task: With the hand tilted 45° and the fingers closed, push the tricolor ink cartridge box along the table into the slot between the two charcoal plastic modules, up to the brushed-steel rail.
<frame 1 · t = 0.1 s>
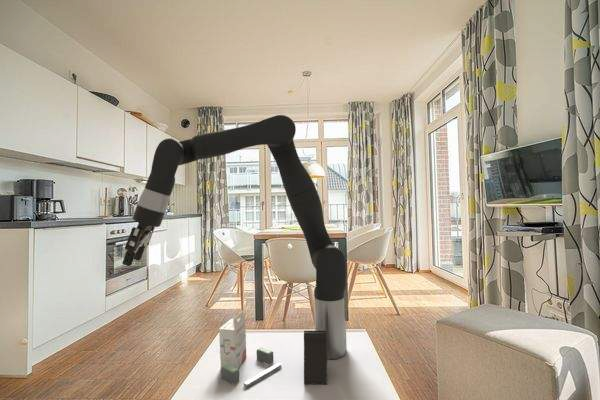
hand: (131, 262, 94), 31 cm above the table, tool tilted 20°, fingers open, 8 cm apart
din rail: (263, 374, 91), on the table
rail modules: (248, 369, 95), on the table
phone stand: (316, 376, 91), on the table
ink cartridge box: (233, 364, 99), on the table
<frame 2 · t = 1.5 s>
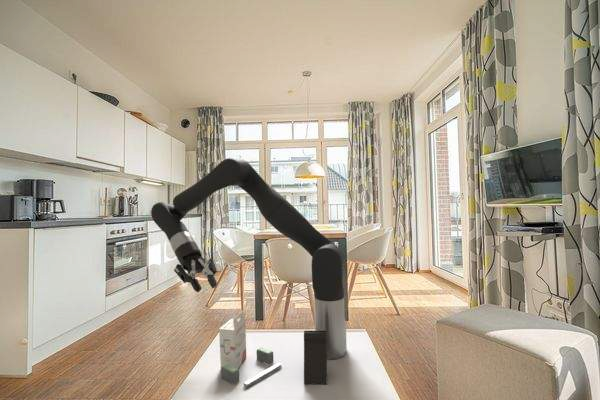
hand: (207, 288, 107), 20 cm above the table, tool tilted 45°, fingers open, 5 cm apart
nothing on the table moved.
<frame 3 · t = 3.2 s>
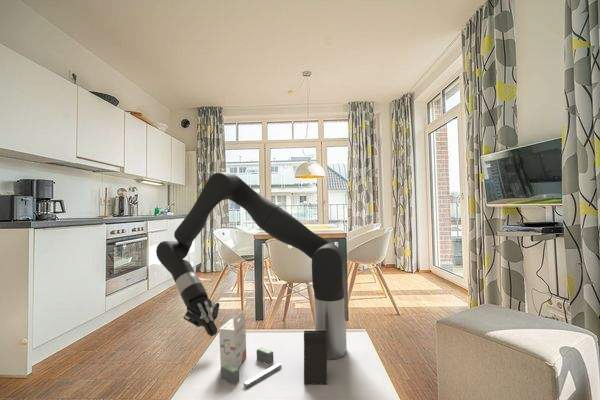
hand: (214, 334, 105), 6 cm above the table, tool tilted 45°, fingers closed
nothing on the table moved.
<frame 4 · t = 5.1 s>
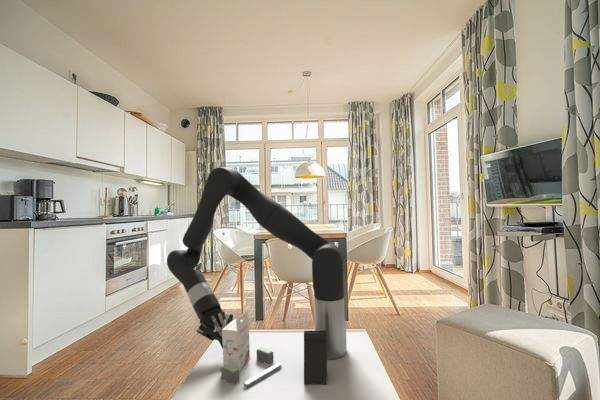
hand: (228, 348, 100), 4 cm above the table, tool tilted 45°, fingers closed
ink cartridge box: (236, 364, 98), on the table, touching gripper
everything else where it was.
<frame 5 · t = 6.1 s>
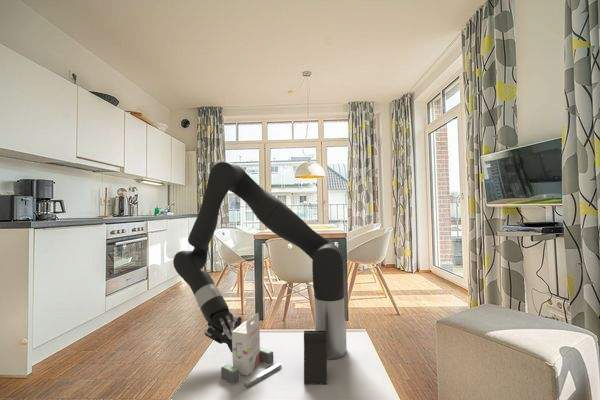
hand: (237, 352, 98), 4 cm above the table, tool tilted 45°, fingers closed
ink cartridge box: (246, 368, 96), on the table, touching gripper
everything else where it was.
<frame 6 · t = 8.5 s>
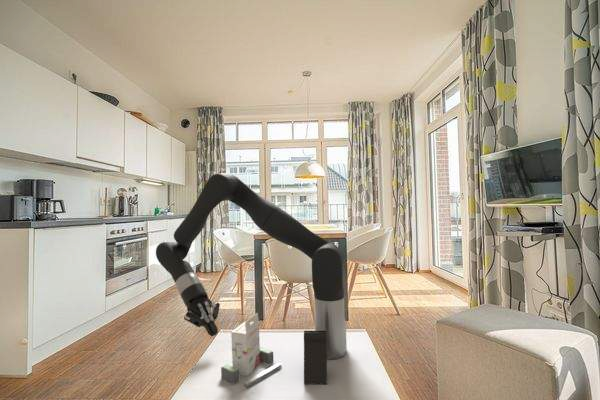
hand: (214, 334, 105), 6 cm above the table, tool tilted 45°, fingers closed
ink cartridge box: (246, 368, 96), on the table
everything else where it was.
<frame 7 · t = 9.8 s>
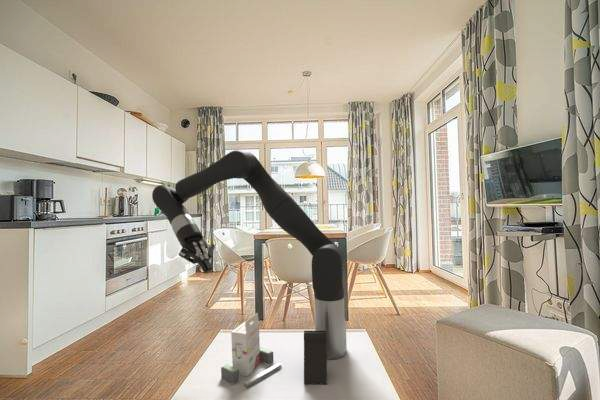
hand: (209, 271, 106), 26 cm above the table, tool tilted 45°, fingers closed
nothing on the table moved.
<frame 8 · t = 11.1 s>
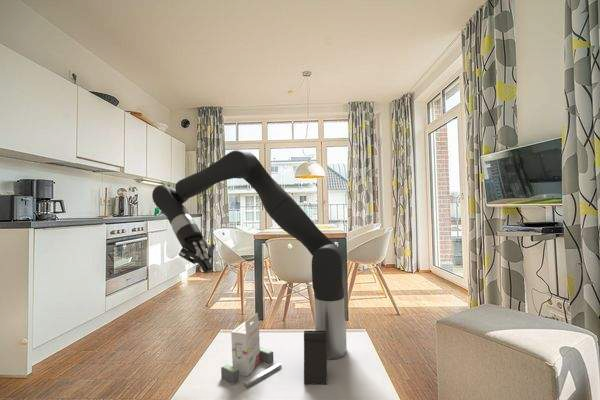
hand: (209, 270, 106), 26 cm above the table, tool tilted 45°, fingers closed
nothing on the table moved.
at the end: ink cartridge box 1.6 cm from the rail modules (horizontally); ink cartridge box tilted 0°; ink cartridge box moved 5.1 cm from its start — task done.
